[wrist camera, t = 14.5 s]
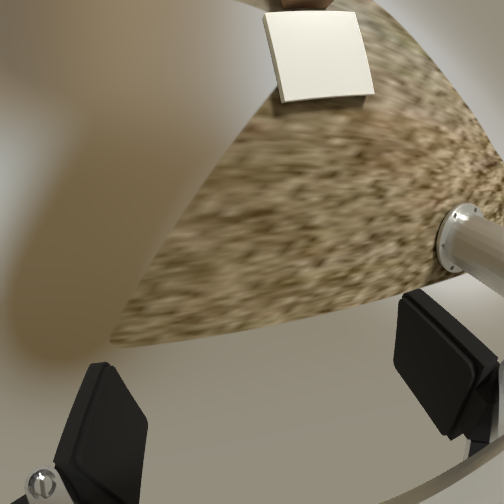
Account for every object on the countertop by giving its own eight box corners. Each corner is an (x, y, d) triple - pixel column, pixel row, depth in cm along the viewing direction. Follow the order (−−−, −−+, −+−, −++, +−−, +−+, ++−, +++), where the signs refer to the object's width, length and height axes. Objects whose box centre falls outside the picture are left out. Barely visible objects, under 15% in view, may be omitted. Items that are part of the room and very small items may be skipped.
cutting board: (348, 16, 30) (354, 12, 28) (367, 95, 34) (374, 94, 33) (262, 18, 29) (264, 12, 28) (281, 103, 34) (285, 101, 32)
